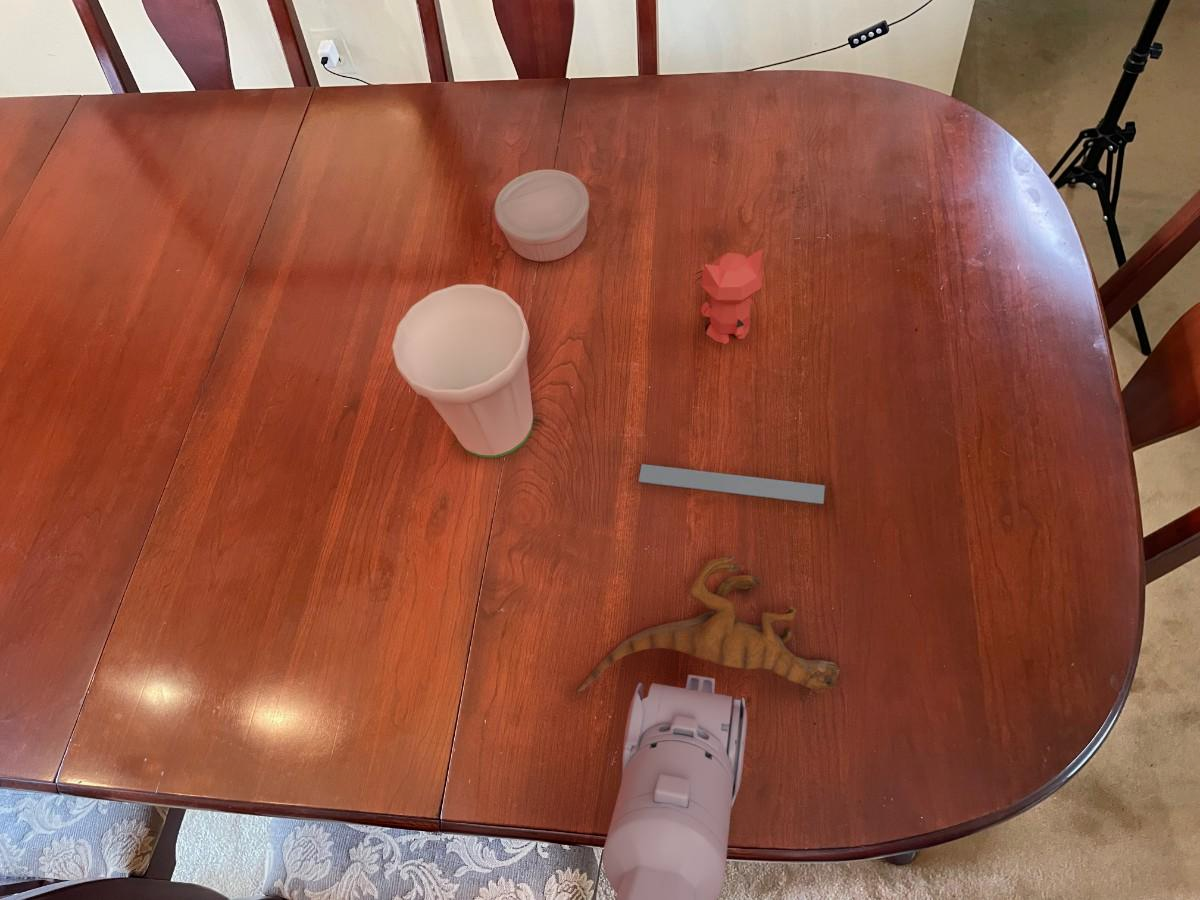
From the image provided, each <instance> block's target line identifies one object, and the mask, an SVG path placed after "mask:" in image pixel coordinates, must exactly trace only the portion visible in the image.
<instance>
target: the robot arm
mask: <svg viewBox="0 0 1200 900" xmlns="http://www.w3.org/2000/svg"><path fill="white" fill-rule="evenodd" d="M715 687H716V679H715V678H714V677H707V676H702V675H694V674H687V678H686V684H685V688H684V687H679V686H673V685H666V684H661V683H655V682H652V683H651V684H650V686H649V689H648V693H647V696H646V697H644V696H643V694H644V688H643V683H642V682H638V683H637V685H636V688H635V692H634V694H633V697H632V699H631V701H630V704H629V705H630V706H629V708H628V713H627V719H626V724H625V730H624V736H623V737H624V738H623V746H622V759H621V760H622V761H621V763H622V773H621V783H620V786H619V790H618V794H617V797H616V802H615V805H614V809H613V813H612V817H611V820H610V825H609V827H608V831H607V835H606V839H605V842H604V845H603V850H602V866H603V870H604V874H605V877H606V880H607V882H608V883H609V885H610V886H611V888H612V890H613V891H614V893H615V894H616V896H615V899H614V900H718V898H719V896H720V895H721V893H722V890H723V888H724V883H725V879H726V866H727V857H728V845H729V835H730V834H729V832H730V824H731V823H730V822H731V813H732V808H733V807H734V803H735V801H736V798H737V795H738V793H739V790H740V787H741V782H742V775H743V767H744V766H743V765H744V759H745V758H744V757H745V749H746V738H747V729H748V728H747V727H748V713H747V708H746V701H745V697H740V698H739V699H738V698H734V699H733V695H728V694H721V693H715Z"/></svg>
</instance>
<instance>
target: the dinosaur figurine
mask: <svg viewBox="0 0 1200 900" xmlns="http://www.w3.org/2000/svg"><path fill="white" fill-rule="evenodd" d="M734 559H735V556H722V557H717V558H712V559H709V560H707V561H706V562H705V563H704V564H703V565H701V567H700V568H699V570H698V572H697V574H696V576H695V578H694V580H693V582H692V583H691V585H690V587H689V590H688V591H689V593H688V594H689V595H690V596H691V598H693V599H695V600H697V601H699V602H701V604H702V605H704V606H705V608H707V609H709V610H710V612H709V611H708V612H703V613H701V614H700V615H698V616H696V617H693V618H688V619H683V620H678V621H672V622H666V623H663V624H659V625H655V626H652V627H649V628H646V629H643V630H642V631H639V632H638V633H636V634H634V635H632V636H630V637H628V638H626V639H625V640H624V641H623V642H621V643H620V644H619V645H617V647H615V648H614V649H613V650H612V651H610V653H608V654H607V655H606V656H605V657H604V658H603V659H601V661H600V662H599V663H598V665H597V666H596V667H595V668H594V669H593V670H592V671H591V673H590V674H589V675H588V677H586V679H585V680H584V681H583V683H582V684H581V685H580V687H579V688H578V689H577V693H581V692H583V691H584V690H586V688H588V686H590V685H591V684H592V683H593V682H595V680H596V679H598V678H599V677H600V676H601V674H602V673H604V671H605V670H607V669H608V668H609V667H610V666H612V665H613V664H614V663H615V662H617V661H619V660H620V659H622V658H623V657H626V656H628V655H630V654H633V653H636V652H640V651H644V650H651V649H666V650H667V649H668V650H673V651H677V652H679V653H683V654H687V655H689V656H692V657H695V658H696V659H698V660H702V661H704V662H706V663H710V664H713V665H714V664H715V665H718V666H722V667H728V668H734V669H740V670H756V669H758V670H761V669H764V670H767V671H770V672H773V673H774V674H776V675H778V676H779V677H782V678H784V679H785V680H787V681H789V682H791V683H794V684H797V685H800V686H803V687H804V688H808V689H809V690H811V691H812V692H814V694H824V693H825V692H826V690H827V689H828V690H829V689H831V690H832V689H834V690H837V686H836V685H837V683H838V677H839V674H840V668H839V667H838V666H837V664H836V662H833V661H827V660H823V659H817V658H814V659H805V658H802V657H799V656H797V655H795V654H793V653H792V652H791V651H790V650H789V649H788V647H787V646H786V645H785V644H786V643H787V642H788V641H789V640H791V638H792V633H793V632H792V629H791V627H789V628H785V629H784V635H783V637H780V635H779V634H778V633H777V632H775V631H774V629H773V623H775V622H786V623H790V622H791V621H793V620H794V619H795V618H796V613H797V611H798V610H797V608H795V607H794V606H787V607H786V609H787V611H786V612H785V613H784V614H782V613H781V614H780V613H775V612H767V611H766V612H765V611H764V612H762V613H761V618H760V619H761V625H755V624H752V623H747V622H743V621H742V620H740V619H739V618H738V617H737V616H736V610H735V606H736V605H735V603H734V602H733V601H731V600H729V599H728V598H727V597H728V595H729V593H730V592H731V591H732V590H734V589H739V590H749V589H753V587H757V586H759V585H761V584H762V582H760V581H758V580H759V579H760V577H759V576H757V575H756V576H752V575H750V574H745V575H743V574H742V575H730V576H727V577H726V579H725V580H723V581H721V583H719V586H718V588H717V590H716V593H713V592H711V591H709V589H708V588H707V586H706V582H707V580H708V578H709V577H710V576H712V575H713V574H718V573H726V574H727V573H729V574H731V573H735V572H738V571H739V569H738V568H739V567H741V564H740V563H735V562H731V561H733V560H734ZM711 611H712V612H711Z"/></svg>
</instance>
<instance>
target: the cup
mask: <svg viewBox="0 0 1200 900" xmlns="http://www.w3.org/2000/svg"><path fill="white" fill-rule="evenodd" d="M395 329H396V330H395V333H394V338H393V341H392V344H391V350H392V355H393V358H394V362H395V365H396V370H397V371H398V372H399V374H400V376H401V378H403V380H404V381H405V382H406V383H407V384H408V385H409V387H410V388H411V389H412V390H413V391H414V392H415V394H416V395H419V396H422V397H424V398H426V399H427V400H428V401H429V403H430V404H431V405H432V406H433V408H434V409H435V411H436V412H437V413H438V414H439V415H440V417H441V418H442V420H443V421H444V422H445V424H446V425H447V426H448V427H449V429H450V430H451V432H452V433H453V434H454V435H455V437H456V439H457V442H458V443H459V444H460V446H462V448H463V449H464V450H465V451H466V452H467V453H469V454H471V455H474V456H477V457H479V458H486V459H497V458H500V457H504V456H506V455H509V454H511V453H513V452H515V451H516V450H517V449H519V448H521V447H522V446H523V445H524V444H525V443H526V441H527V439H528V438H529V436H530V435H531V432H532V430H533V426H534V418H535V417H534V410H533V404H532V403H533V401H532V393H531V385H530V376H529V375H530V374H529V368H528V367H529V366H528V352H529V345H530V340H531V336H530V335H531V334H530V332H529V327H528V323H527V321H526V318H525V315H524V312H523V309H522V307H521V306H520V304H518V303H517V302H516V301H515V300H514V299H513V298H512V297H511V296H509V294H508V293H506V292H505V291H503V290H500V289H497V288H494V287H491V286H489V285H486V284H481V283H480V284H479V283H478V284H472V283H471V284H470V283H469V284H468V283H467V284H466V283H465V284H464V283H463V284H461V283H459V284H454V285H451V286H448V287H444V288H441V289H438V290H435V291H432V292H430V293H429V294H428V295H426V296H425V297H423V298H421V299H420V300H419V301H417V302H416V303H414V304H413V305H411V307H410V308H409V309H408V310H407V312H406V314H405V315H403V318H402V319H401V320H400V321H399V323H398V324H397V326H396V328H395Z"/></svg>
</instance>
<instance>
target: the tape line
mask: <svg viewBox="0 0 1200 900" xmlns="http://www.w3.org/2000/svg"><path fill="white" fill-rule="evenodd" d="M637 481H638V483H643V484H651V485H658V486H667V487H674V488H675V487H676V488H682V489H691V490H692V489H693V490H698V491H699V490H700V491H707V492H714V493H715V492H716V493H724V494H725V493H726V494H734V495H740V496H749V497H758V498H766V499H772V500H783V501H791V502H798V503H806V504H815V505H824V504H825V489H826V485H824V484H816V483H808V482H807V483H806V482H799V481H791V480H782V479H781V480H780V479H773V478H765V477H756V476H747V475H739V474H730V473H722V472H713V471H705V470H698V469H697V470H696V469H688V468H678V467H671V466H662V465H653V464H646V463H641V466H640V471H639V476H638V480H637Z"/></svg>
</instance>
